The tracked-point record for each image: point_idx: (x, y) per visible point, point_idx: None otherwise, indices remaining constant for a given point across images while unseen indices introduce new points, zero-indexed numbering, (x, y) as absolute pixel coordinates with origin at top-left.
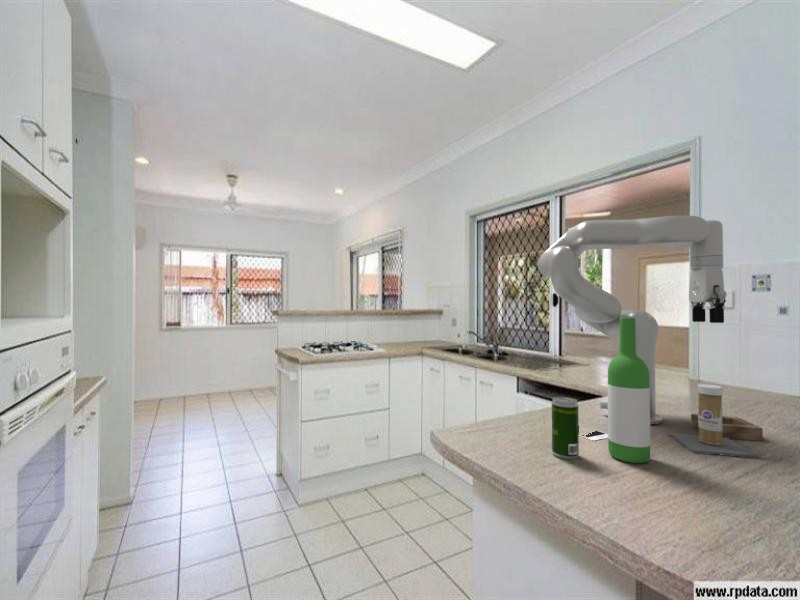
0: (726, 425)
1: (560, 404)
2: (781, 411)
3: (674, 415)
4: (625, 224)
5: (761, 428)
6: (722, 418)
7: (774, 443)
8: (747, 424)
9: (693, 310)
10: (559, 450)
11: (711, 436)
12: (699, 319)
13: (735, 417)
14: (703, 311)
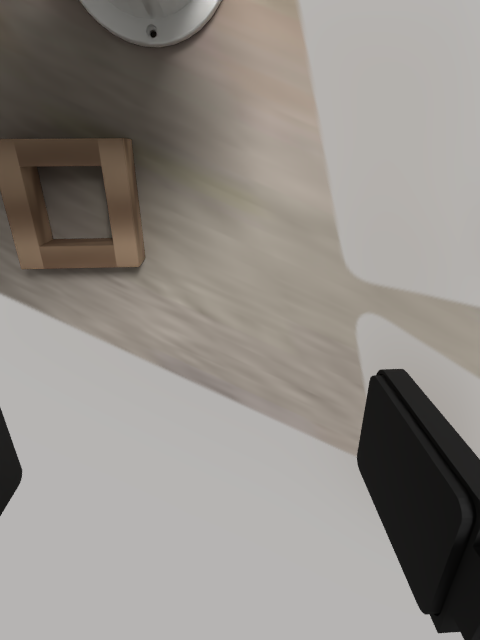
0: (3, 183)
1: None
2: (357, 438)
3: (243, 134)
4: None
5: (22, 267)
6: (111, 220)
7: (26, 275)
8: (49, 251)
9: (464, 484)
10: None
11: None
12: (370, 433)
13: (127, 259)
14: (409, 564)
